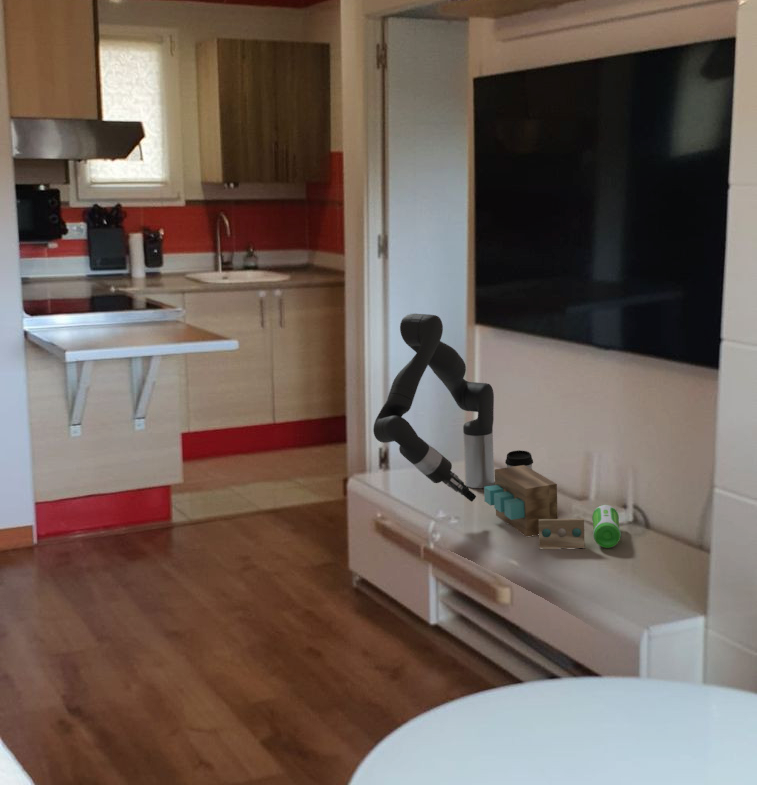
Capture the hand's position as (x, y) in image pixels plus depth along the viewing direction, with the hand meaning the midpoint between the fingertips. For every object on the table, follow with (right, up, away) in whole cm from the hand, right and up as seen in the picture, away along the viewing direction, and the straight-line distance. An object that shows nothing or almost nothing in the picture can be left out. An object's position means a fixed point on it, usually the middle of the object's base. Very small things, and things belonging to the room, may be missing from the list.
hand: (473, 498), depth 336 cm
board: (+22, -11, -20) cm, 32 cm away
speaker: (+35, -10, -16) cm, 40 cm away
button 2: (+12, -4, -10) cm, 16 cm away
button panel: (+15, -7, -1) cm, 17 cm away
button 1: (+7, -1, +3) cm, 8 cm away
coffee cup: (+16, -3, +19) cm, 25 cm away
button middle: (+9, -3, -4) cm, 10 cm away
